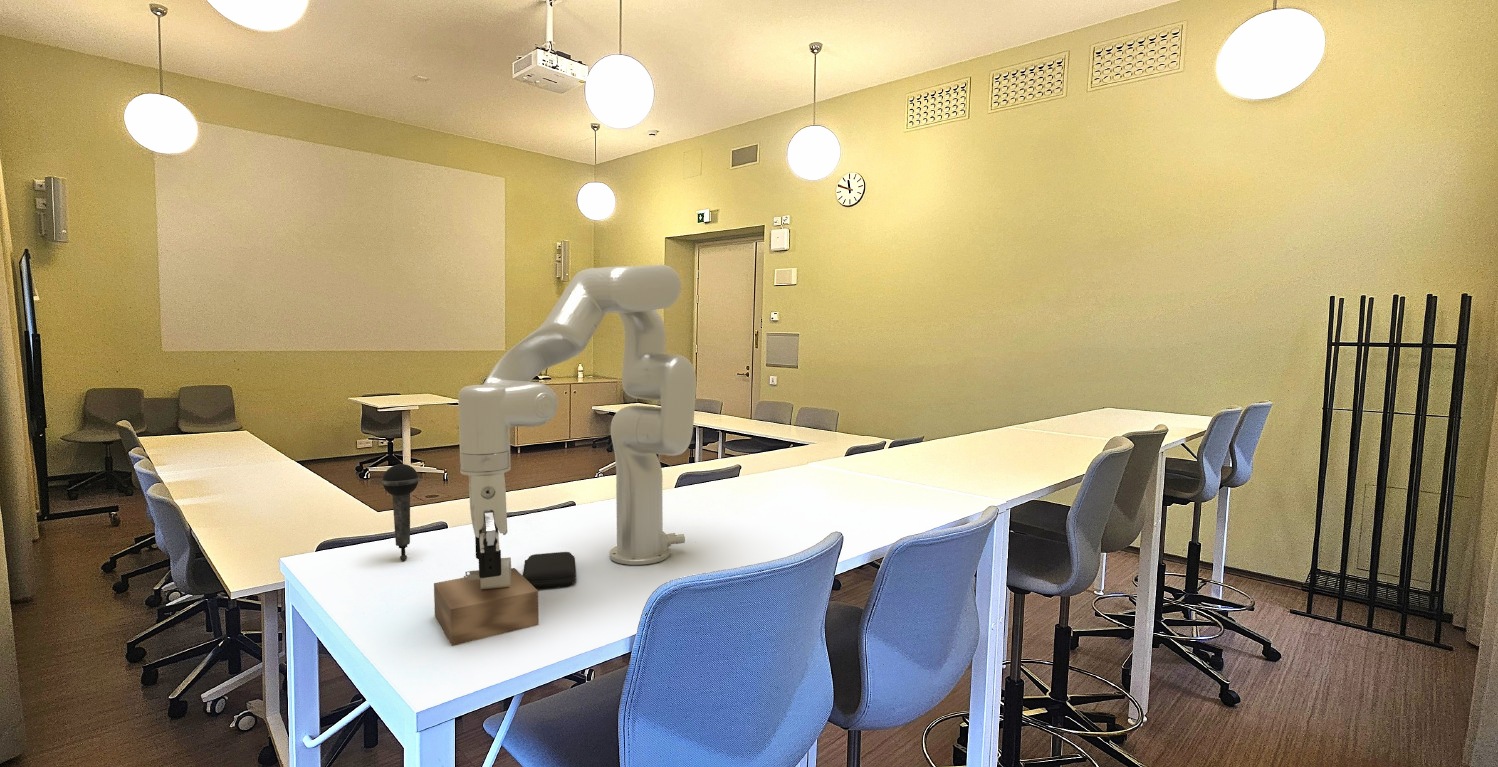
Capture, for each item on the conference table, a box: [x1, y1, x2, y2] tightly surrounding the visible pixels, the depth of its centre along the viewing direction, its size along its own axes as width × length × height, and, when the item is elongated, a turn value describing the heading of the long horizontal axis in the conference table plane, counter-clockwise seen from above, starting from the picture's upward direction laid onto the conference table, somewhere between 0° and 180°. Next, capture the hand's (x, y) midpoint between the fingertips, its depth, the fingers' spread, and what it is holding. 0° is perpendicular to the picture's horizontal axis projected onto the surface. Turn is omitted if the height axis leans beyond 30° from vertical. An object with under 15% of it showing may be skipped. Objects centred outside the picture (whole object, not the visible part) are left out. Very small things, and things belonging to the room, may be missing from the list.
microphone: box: [381, 463, 420, 562], centre depth 137 cm, size 7×7×20 cm
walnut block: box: [433, 567, 540, 647], centre depth 109 cm, size 13×13×6 cm
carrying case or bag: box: [521, 551, 577, 590], centre depth 129 cm, size 11×3×15 cm
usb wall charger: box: [463, 557, 512, 590], centre depth 109 cm, size 4×7×4 cm, turn 105°
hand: (488, 566), depth 109 cm, fingers open, 9 cm apart
